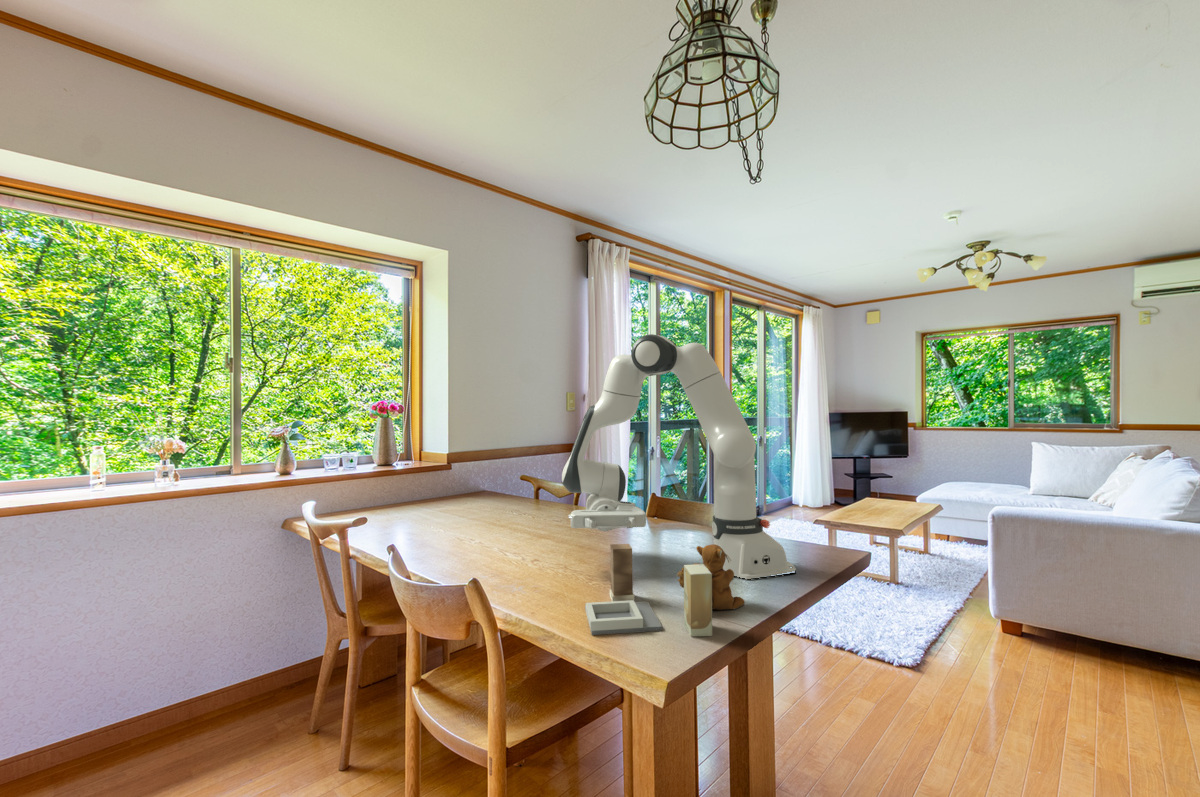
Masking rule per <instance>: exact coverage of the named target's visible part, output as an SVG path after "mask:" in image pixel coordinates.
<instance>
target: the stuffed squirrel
mask: <svg viewBox="0 0 1200 797" xmlns="http://www.w3.org/2000/svg"><path fill="white" fill-rule="evenodd" d="M695 549H696V551H697V553H698V554H699V555H700V556H701V559H702V564H704V565H705V566H706V568H708V570H709V571H710V572H711V573H712V610H715V609H716V611H726V610H725V609H733V610H735V609H734V608H736V609H739V608H741V607H743V606H745V603H746V602H745V600H744V598H743V597H741V596H733V594H732V590H731V587H730V584H731V582H732V581H733V580H734V572H733V570H731V569H728V570H727V571H725V570H724V569H723V566H724V563H725V560H726V558H727V556H728V555H727V554H725V552H724V551H723V549H722V548H721V547H720V546H718V545H714V544H707V545H705V546H704V547H702V546H700V545H697V546H696V548H695ZM725 556H726V558H725ZM728 558H729V556H728ZM728 558H727V560H728ZM729 559H730V558H729ZM730 561H731V559H730ZM728 563H729V560H728ZM695 564H700V563H699V562H697V563H692V564H691V565H695ZM676 576H677V577H679V578H678V579H677V581H678V582H679V585H680V587H681V588H683V589H684V567H682V568H681V570H680V571H678V573H676ZM742 605H743V606H742ZM740 606H741V607H740ZM738 607H739V608H738ZM723 609H724V610H723Z"/></svg>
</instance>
